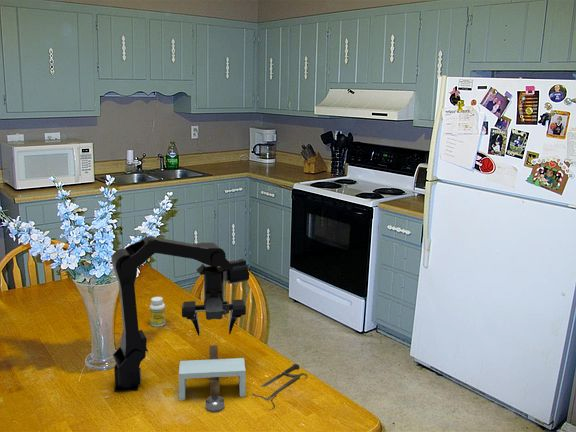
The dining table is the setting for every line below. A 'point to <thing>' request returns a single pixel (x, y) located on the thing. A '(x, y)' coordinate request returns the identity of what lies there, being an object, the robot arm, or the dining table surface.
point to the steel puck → (214, 403)
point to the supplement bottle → (157, 312)
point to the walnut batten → (214, 380)
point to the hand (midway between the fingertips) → (214, 334)
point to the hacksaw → (286, 372)
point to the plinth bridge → (211, 371)
